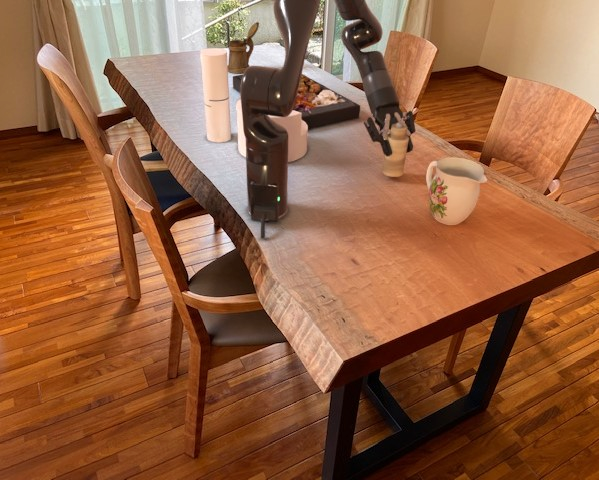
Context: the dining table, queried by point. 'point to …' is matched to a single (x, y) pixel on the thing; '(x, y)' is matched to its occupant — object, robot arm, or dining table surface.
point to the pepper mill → (396, 151)
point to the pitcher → (454, 188)
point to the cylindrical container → (216, 94)
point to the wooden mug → (241, 52)
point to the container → (291, 123)
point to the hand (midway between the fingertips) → (399, 153)
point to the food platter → (318, 103)
